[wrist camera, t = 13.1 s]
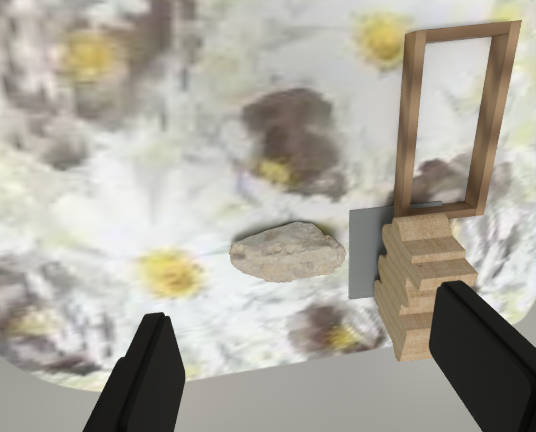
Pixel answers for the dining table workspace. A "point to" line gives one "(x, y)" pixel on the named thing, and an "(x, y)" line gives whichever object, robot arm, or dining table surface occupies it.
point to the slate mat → (369, 246)
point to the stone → (287, 253)
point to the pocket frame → (487, 123)
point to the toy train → (416, 279)
